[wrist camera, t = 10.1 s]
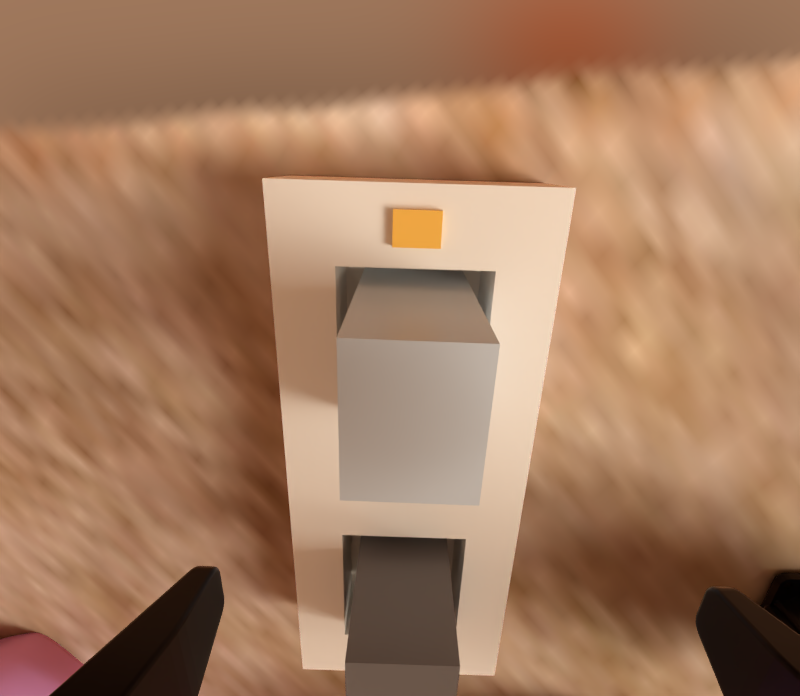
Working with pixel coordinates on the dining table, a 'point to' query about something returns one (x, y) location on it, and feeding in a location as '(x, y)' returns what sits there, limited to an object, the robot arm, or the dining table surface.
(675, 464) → the dining table surface
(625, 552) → the dining table surface
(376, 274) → the plug
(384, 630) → the twin plug
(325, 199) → the power strip
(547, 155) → the dining table surface
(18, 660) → the teakettle
